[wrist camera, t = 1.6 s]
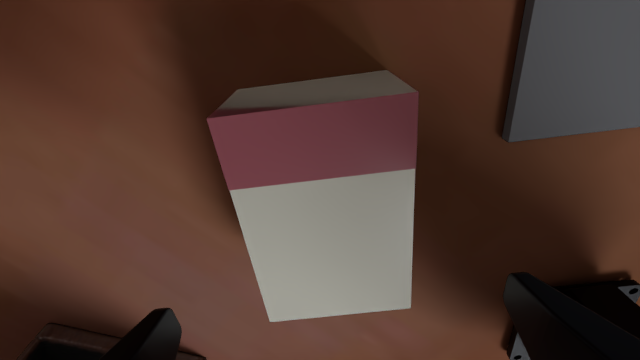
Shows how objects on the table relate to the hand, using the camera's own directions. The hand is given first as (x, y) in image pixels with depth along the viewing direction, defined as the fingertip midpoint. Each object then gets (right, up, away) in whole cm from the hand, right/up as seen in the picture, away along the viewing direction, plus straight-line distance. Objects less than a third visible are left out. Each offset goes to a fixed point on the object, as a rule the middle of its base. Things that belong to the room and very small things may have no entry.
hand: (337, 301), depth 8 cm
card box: (0, +3, +6) cm, 7 cm away
